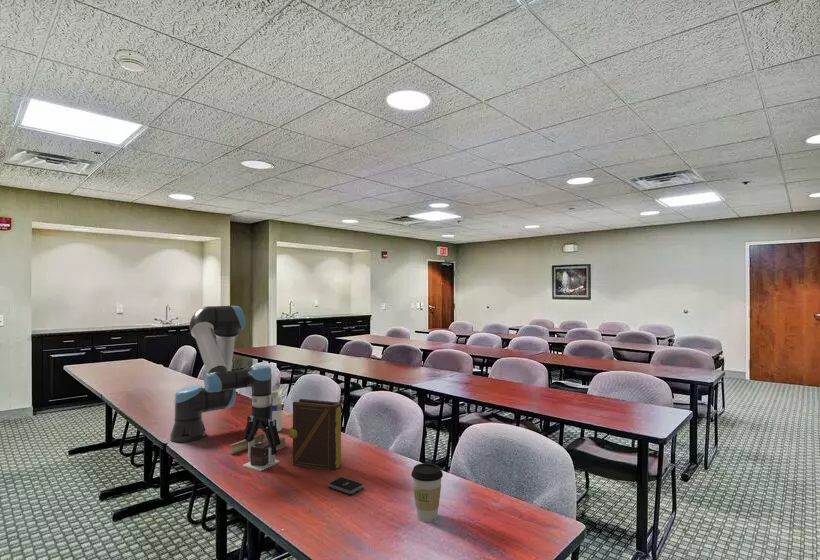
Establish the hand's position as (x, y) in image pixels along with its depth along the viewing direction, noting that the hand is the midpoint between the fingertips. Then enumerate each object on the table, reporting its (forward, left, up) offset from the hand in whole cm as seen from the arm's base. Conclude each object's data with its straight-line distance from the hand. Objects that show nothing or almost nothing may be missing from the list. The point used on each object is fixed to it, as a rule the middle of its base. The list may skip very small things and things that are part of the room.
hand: (261, 459), depth 180 cm
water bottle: (-28, +35, -2) cm, 45 cm away
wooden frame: (-13, +10, -2) cm, 16 cm away
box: (0, 0, -1) cm, 1 cm away
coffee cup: (+77, -5, -2) cm, 77 cm away
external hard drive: (+43, -1, -2) cm, 43 cm away
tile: (0, 0, -2) cm, 2 cm away
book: (+19, +10, -2) cm, 22 cm away
